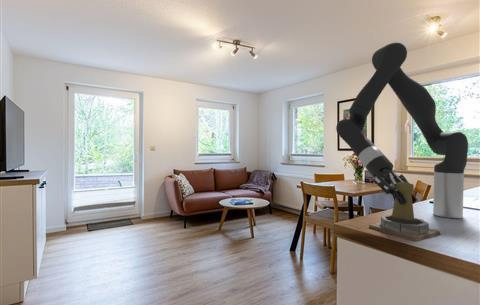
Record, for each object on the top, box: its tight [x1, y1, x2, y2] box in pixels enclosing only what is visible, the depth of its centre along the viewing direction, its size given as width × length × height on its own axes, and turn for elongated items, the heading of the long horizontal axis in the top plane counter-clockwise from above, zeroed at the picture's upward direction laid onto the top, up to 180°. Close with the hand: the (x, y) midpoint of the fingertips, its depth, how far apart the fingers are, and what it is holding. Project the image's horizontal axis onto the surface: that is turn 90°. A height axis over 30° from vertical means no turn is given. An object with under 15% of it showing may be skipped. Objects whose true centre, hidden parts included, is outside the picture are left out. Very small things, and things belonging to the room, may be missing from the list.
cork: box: [391, 182, 415, 220], centre depth 82 cm, size 6×6×11 cm
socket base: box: [368, 214, 441, 242], centre depth 82 cm, size 14×14×4 cm
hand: (409, 202), depth 80 cm, fingers closed on cork, 5 cm apart
